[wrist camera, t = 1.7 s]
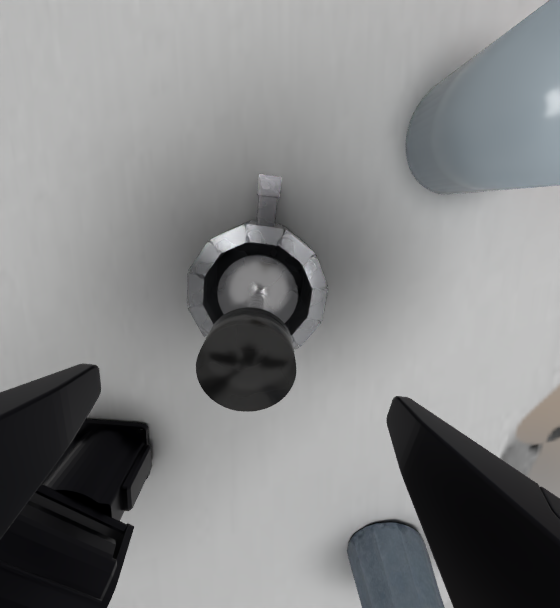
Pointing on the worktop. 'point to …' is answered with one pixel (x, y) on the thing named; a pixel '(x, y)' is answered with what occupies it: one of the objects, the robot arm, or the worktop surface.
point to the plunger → (251, 336)
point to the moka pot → (392, 568)
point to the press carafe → (262, 241)
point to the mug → (494, 115)
